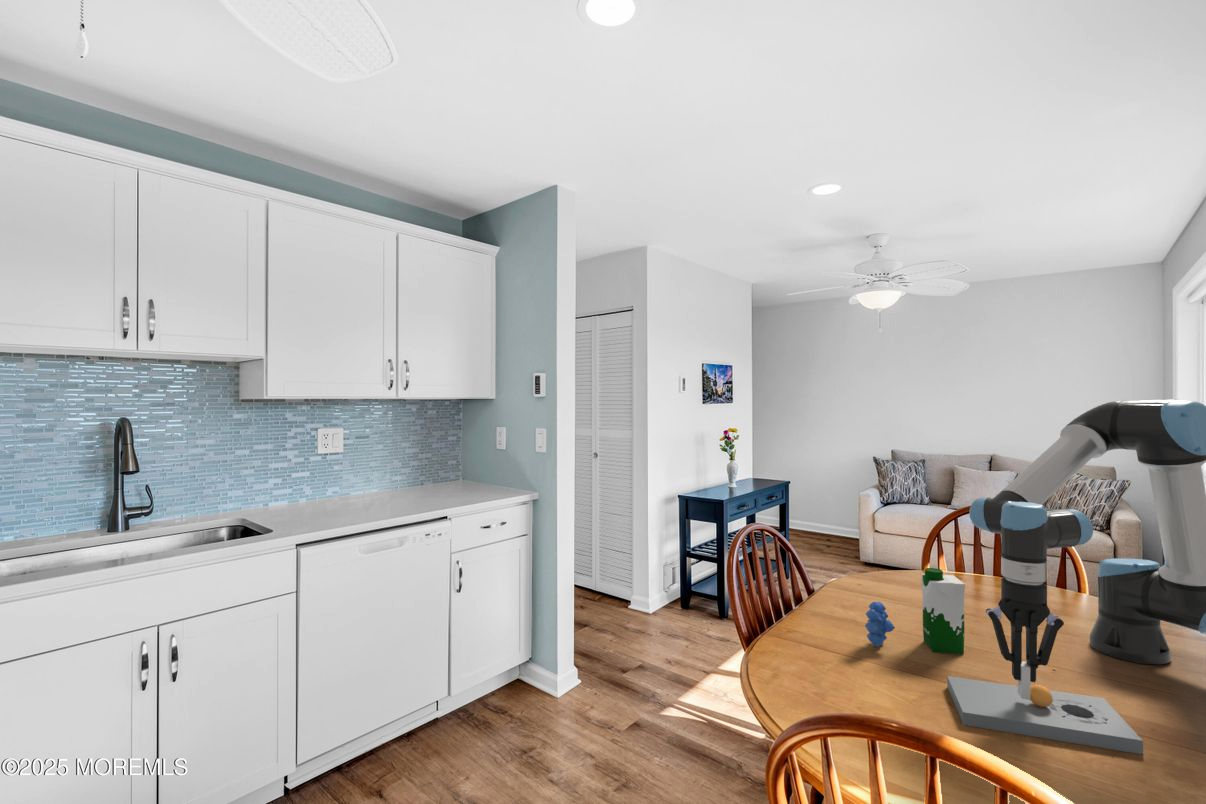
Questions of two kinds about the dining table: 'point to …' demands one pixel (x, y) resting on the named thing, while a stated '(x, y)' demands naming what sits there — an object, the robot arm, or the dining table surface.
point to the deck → (1043, 715)
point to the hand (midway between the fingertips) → (1023, 696)
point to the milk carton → (943, 612)
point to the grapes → (878, 624)
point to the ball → (1040, 696)
